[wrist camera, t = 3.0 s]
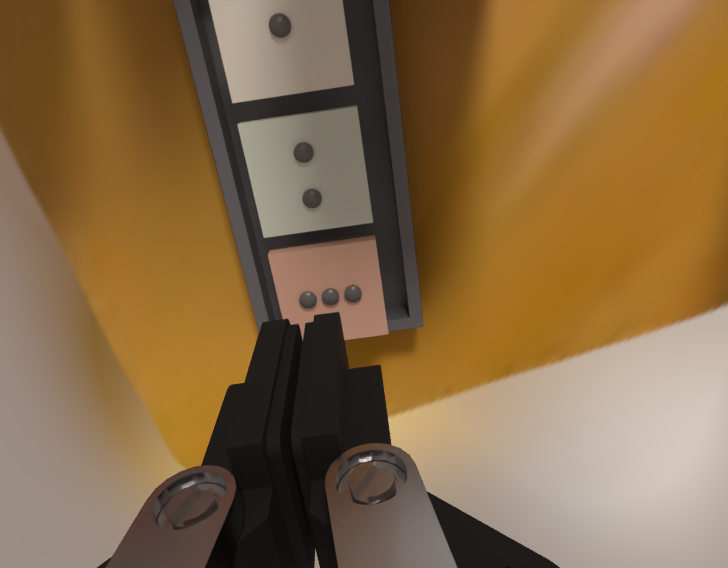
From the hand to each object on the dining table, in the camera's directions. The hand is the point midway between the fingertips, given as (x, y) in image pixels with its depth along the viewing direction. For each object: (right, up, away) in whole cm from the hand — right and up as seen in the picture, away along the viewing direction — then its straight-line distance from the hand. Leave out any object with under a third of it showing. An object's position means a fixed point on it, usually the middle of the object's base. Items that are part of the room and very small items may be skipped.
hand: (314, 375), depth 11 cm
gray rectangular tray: (-2, +10, +20) cm, 22 cm away
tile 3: (-1, +2, +20) cm, 21 cm away
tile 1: (-3, +15, +15) cm, 21 cm away
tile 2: (-2, +9, +18) cm, 20 cm away
